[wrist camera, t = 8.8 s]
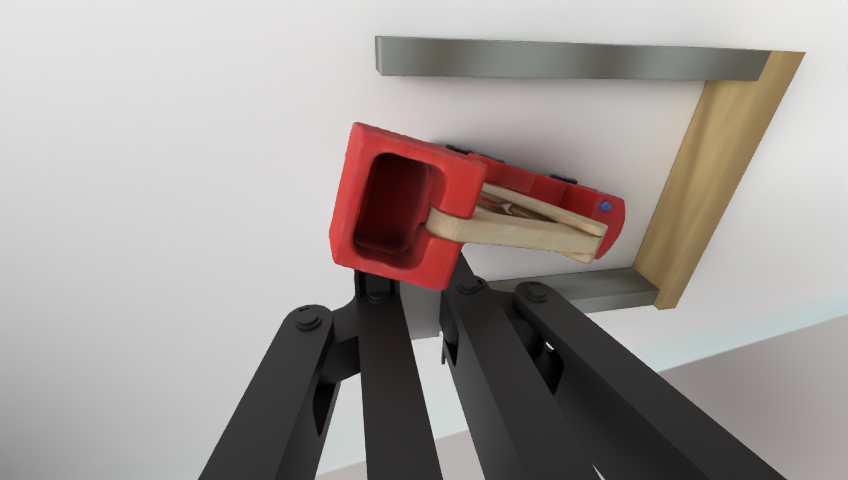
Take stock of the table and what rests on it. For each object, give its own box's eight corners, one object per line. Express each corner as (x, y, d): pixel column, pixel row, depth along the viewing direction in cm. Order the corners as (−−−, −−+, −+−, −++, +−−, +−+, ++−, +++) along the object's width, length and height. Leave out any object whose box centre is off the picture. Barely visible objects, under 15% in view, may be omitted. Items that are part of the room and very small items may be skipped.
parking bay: (383, 307, 22) (389, 344, 19) (375, 36, 14) (382, 37, 12) (641, 279, 25) (675, 307, 23) (740, 48, 18) (806, 52, 15)
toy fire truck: (563, 237, 21) (731, 332, 12) (326, 185, 17) (327, 277, 8) (585, 182, 20) (785, 243, 11) (341, 112, 16) (359, 123, 7)
